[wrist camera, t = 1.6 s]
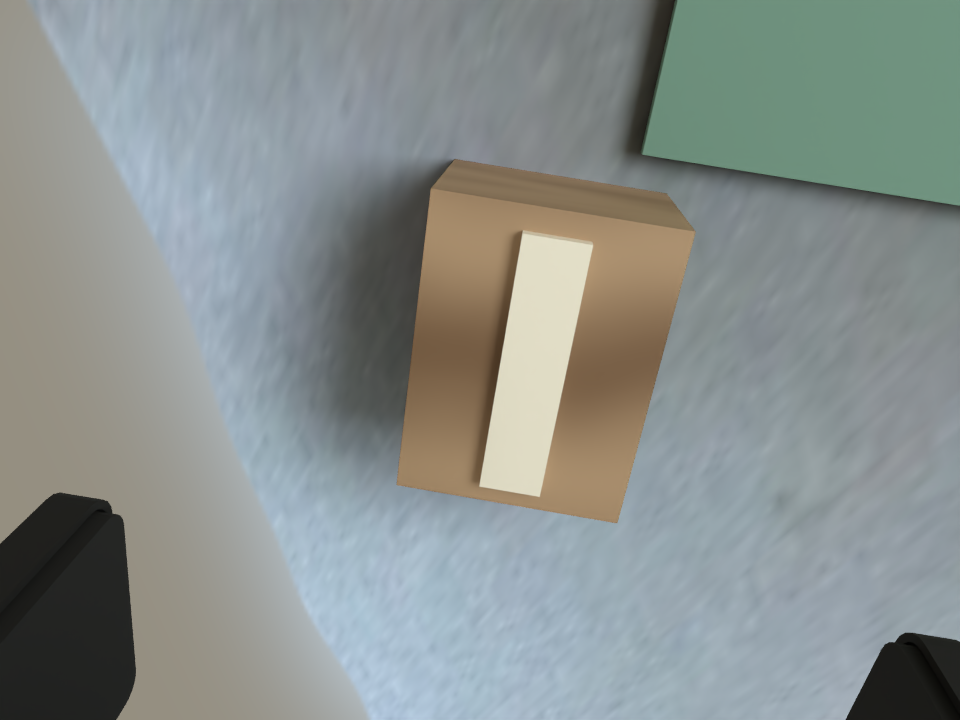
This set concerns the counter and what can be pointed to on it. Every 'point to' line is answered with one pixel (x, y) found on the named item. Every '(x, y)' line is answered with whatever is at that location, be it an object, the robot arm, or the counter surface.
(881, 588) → the counter surface
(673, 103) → the play mat
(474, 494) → the cardboard box
